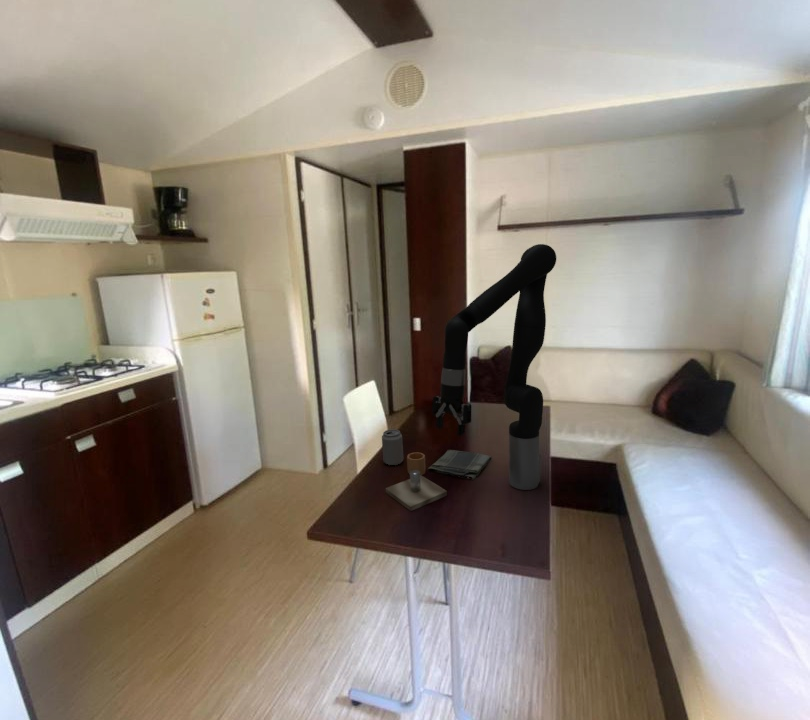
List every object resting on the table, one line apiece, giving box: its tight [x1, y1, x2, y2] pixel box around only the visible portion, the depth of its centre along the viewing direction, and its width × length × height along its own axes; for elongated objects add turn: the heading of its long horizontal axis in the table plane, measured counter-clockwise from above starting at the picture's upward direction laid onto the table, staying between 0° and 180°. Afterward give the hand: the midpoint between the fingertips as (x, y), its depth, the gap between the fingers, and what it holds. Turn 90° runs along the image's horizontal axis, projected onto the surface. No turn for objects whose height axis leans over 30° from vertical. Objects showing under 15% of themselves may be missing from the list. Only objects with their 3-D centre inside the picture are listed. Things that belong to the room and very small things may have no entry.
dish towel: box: [427, 449, 493, 481], centre depth 154 cm, size 19×18×3 cm
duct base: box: [385, 475, 448, 512], centre depth 136 cm, size 14×14×2 cm
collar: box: [406, 451, 427, 476], centre depth 150 cm, size 6×6×6 cm
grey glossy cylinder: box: [409, 470, 421, 492], centre depth 135 cm, size 3×3×6 cm
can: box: [381, 428, 404, 466], centre depth 158 cm, size 8×8×12 cm
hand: (449, 431), depth 137 cm, fingers open, 8 cm apart
